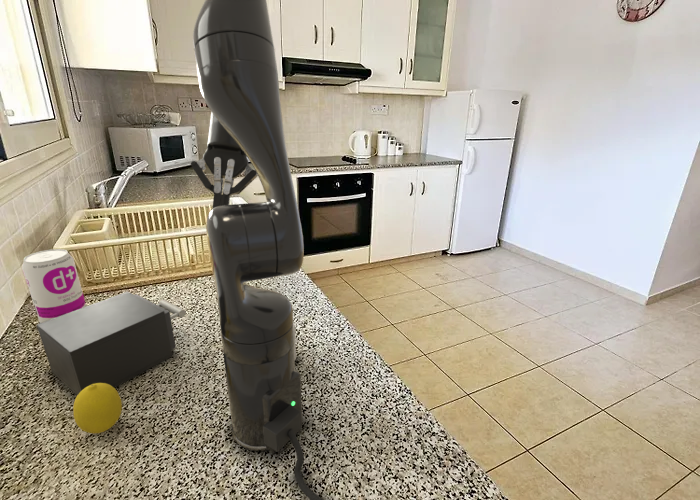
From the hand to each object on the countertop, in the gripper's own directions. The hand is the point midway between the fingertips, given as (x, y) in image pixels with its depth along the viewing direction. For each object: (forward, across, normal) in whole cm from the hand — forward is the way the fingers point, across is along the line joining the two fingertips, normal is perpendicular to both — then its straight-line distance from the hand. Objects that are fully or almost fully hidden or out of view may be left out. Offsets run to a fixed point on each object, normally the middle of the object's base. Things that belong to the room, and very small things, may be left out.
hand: (220, 213), depth 73 cm
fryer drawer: (+27, -12, 0) cm, 30 cm away
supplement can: (+26, -31, +13) cm, 42 cm away
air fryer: (+29, -15, -3) cm, 33 cm away
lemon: (+35, -10, -17) cm, 40 cm away
